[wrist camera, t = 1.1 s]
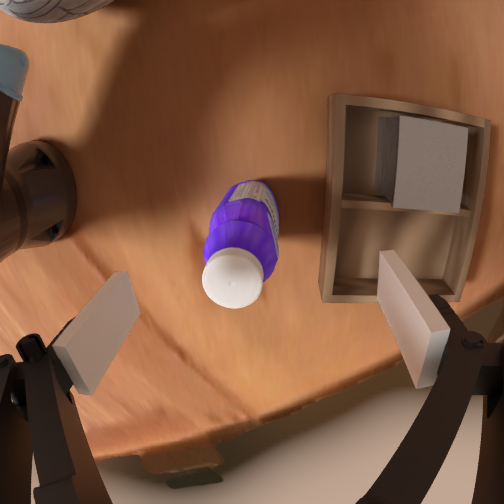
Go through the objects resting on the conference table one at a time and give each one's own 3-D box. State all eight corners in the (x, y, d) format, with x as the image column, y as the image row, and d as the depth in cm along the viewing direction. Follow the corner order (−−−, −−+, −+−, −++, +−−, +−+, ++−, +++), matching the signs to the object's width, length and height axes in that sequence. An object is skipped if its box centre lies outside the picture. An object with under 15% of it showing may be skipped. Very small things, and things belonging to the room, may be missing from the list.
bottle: (285, 233, 38) (285, 320, 22) (238, 243, 39) (207, 332, 23) (270, 173, 35) (260, 220, 19) (221, 184, 36) (173, 240, 20)
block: (372, 189, 34) (392, 207, 27) (376, 115, 31) (399, 115, 24) (429, 194, 33) (458, 213, 27) (435, 124, 30) (468, 128, 23)
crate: (318, 281, 40) (322, 302, 35) (328, 97, 31) (335, 93, 27) (444, 283, 38) (459, 301, 34) (469, 118, 30) (491, 120, 25)
